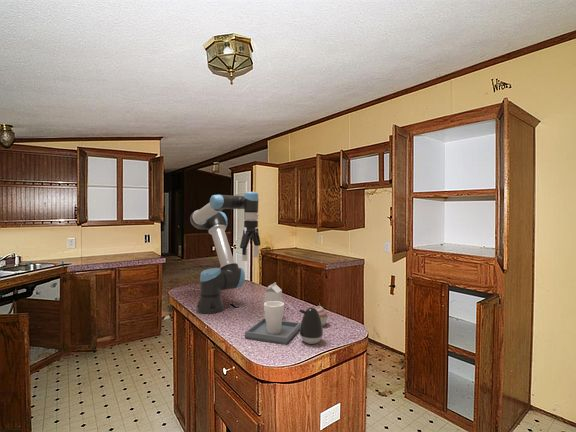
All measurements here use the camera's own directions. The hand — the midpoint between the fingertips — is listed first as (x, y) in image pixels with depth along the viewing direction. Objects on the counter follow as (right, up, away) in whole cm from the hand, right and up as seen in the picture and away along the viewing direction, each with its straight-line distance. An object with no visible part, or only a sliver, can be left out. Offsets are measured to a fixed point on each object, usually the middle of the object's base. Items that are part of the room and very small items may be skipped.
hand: (250, 259), depth 181 cm
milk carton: (+13, -32, -5) cm, 34 cm away
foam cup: (+14, -31, -25) cm, 42 cm away
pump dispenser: (+31, -32, -35) cm, 57 cm away
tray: (+14, -32, -26) cm, 43 cm away
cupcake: (+36, -32, -13) cm, 50 cm away
